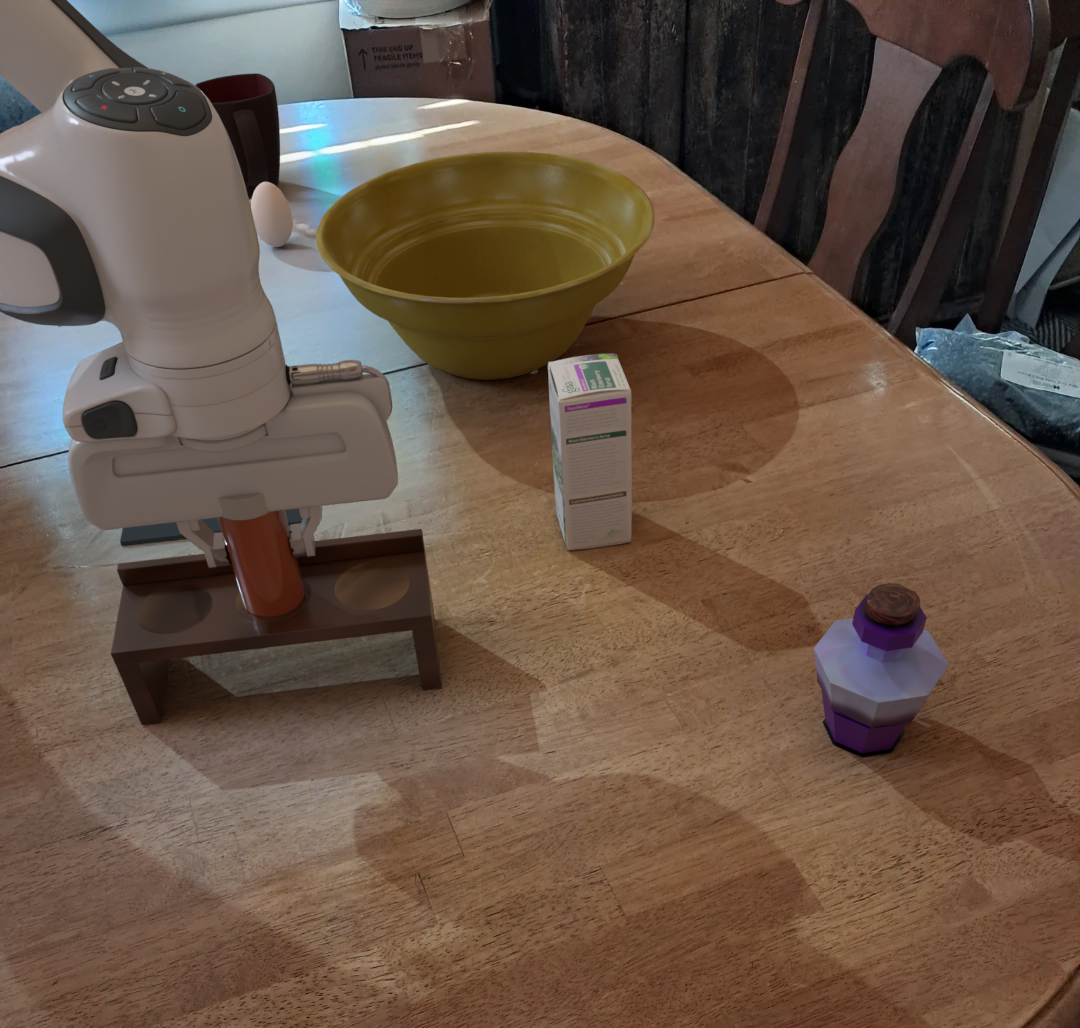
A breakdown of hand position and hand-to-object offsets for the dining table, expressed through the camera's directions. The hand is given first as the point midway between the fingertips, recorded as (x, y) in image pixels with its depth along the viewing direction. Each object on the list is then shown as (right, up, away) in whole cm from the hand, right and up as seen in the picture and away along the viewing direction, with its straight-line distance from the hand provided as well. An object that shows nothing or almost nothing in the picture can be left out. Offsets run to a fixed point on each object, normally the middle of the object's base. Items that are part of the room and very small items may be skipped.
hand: (262, 556), depth 79 cm
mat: (-10, +10, +25) cm, 28 cm away
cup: (-17, +56, +69) cm, 91 cm away
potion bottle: (+42, -12, +2) cm, 43 cm away
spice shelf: (0, -7, +8) cm, 11 cm away
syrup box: (+24, +5, +18) cm, 30 cm away
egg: (-12, +45, +58) cm, 75 cm away
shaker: (0, -2, +3) cm, 4 cm away
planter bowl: (+14, +27, +40) cm, 50 cm away
